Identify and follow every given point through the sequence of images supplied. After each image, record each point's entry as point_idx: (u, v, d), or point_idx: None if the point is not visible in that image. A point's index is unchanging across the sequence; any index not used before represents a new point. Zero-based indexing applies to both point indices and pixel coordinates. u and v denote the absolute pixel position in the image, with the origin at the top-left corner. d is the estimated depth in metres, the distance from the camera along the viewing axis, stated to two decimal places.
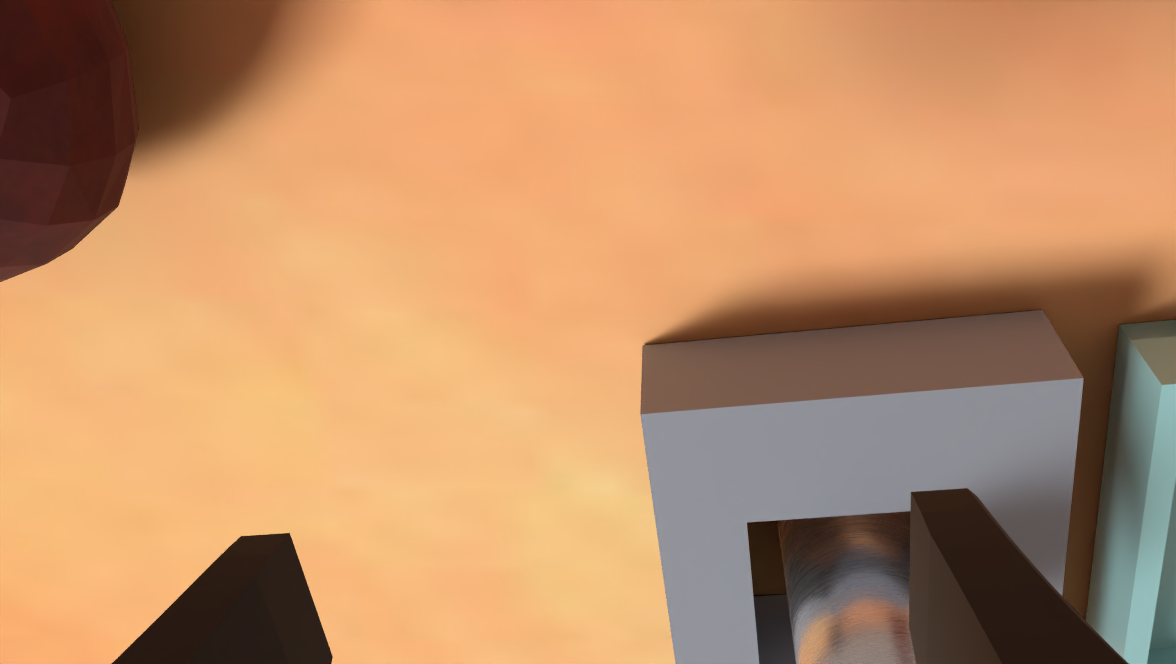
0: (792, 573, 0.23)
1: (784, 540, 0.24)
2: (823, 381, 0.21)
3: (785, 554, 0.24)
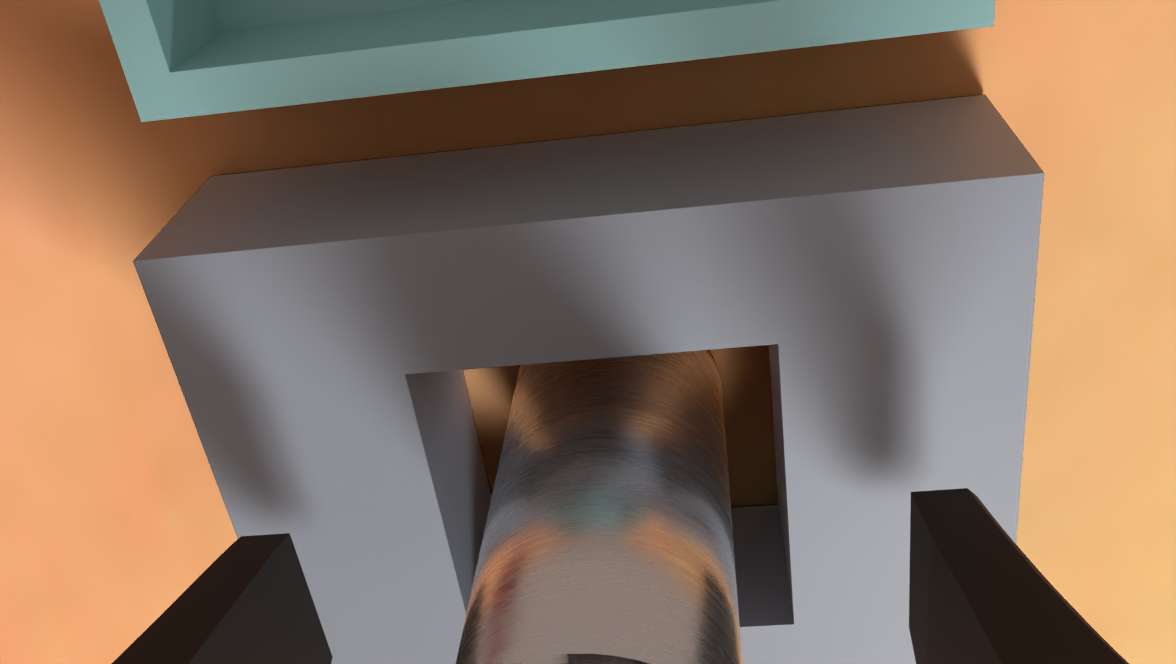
0: None
1: None
2: None
3: None
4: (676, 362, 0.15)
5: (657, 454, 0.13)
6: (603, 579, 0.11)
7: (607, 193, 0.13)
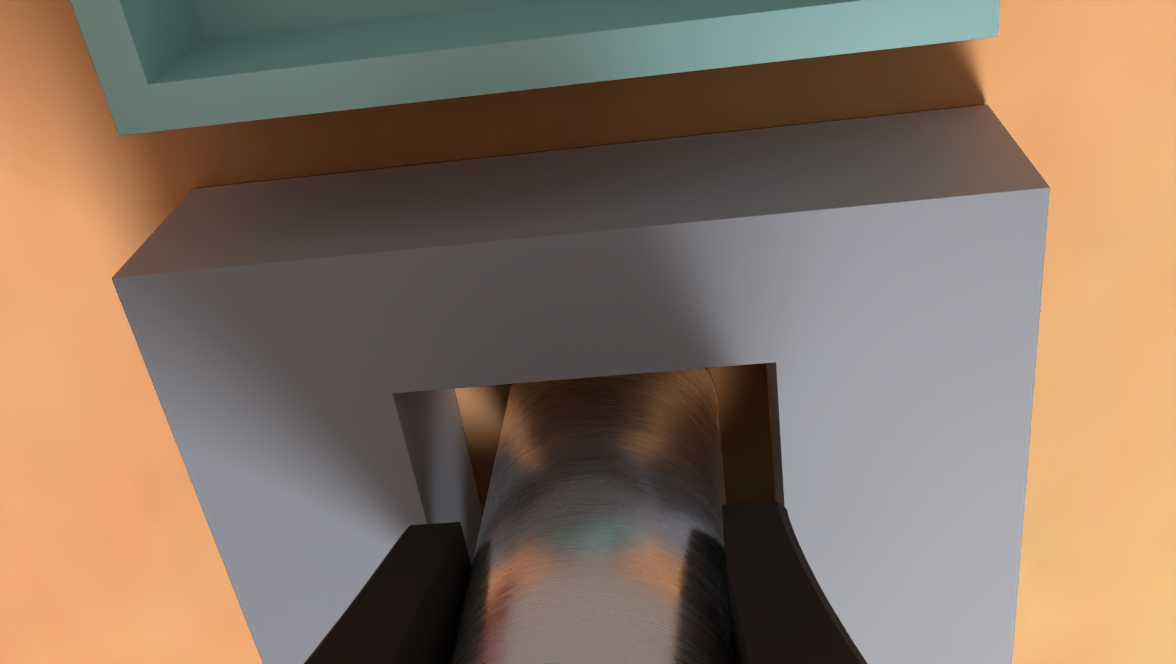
0: None
1: None
2: None
3: None
4: (671, 379, 0.14)
5: (652, 477, 0.12)
6: (595, 609, 0.10)
7: (600, 207, 0.12)
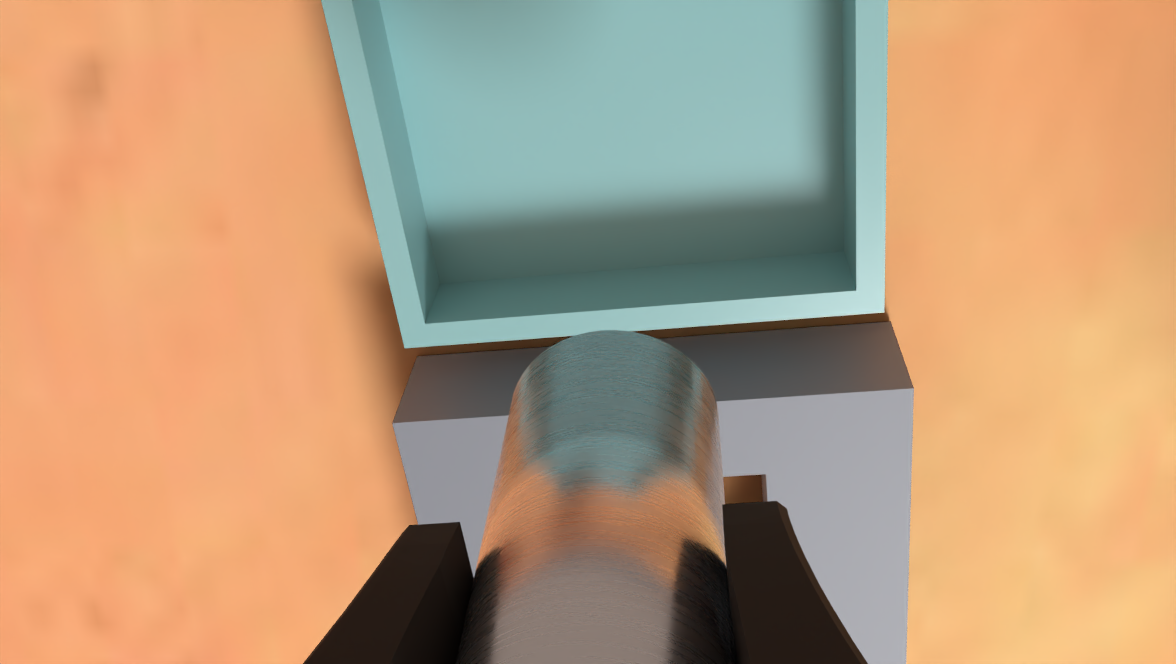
0: None
1: None
2: None
3: None
4: (672, 388, 0.14)
5: (653, 484, 0.13)
6: (598, 617, 0.11)
7: None
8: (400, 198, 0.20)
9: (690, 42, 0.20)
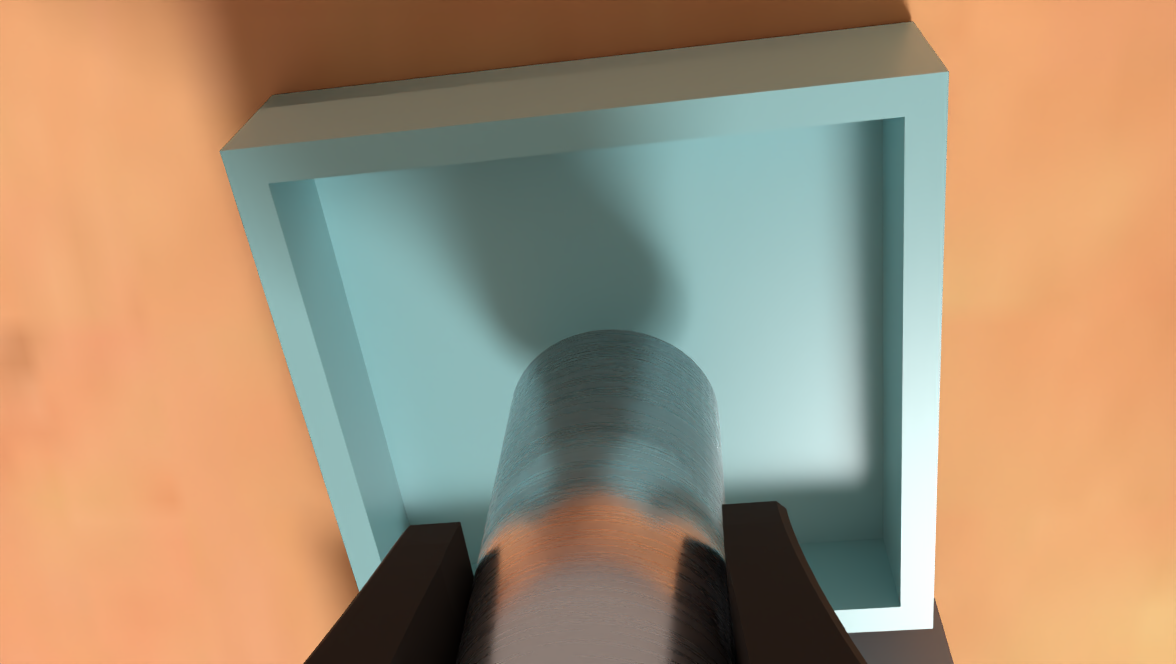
0: None
1: None
2: None
3: None
4: (673, 388, 0.14)
5: (654, 484, 0.12)
6: (598, 615, 0.11)
7: None
8: (370, 507, 0.17)
9: (704, 329, 0.17)
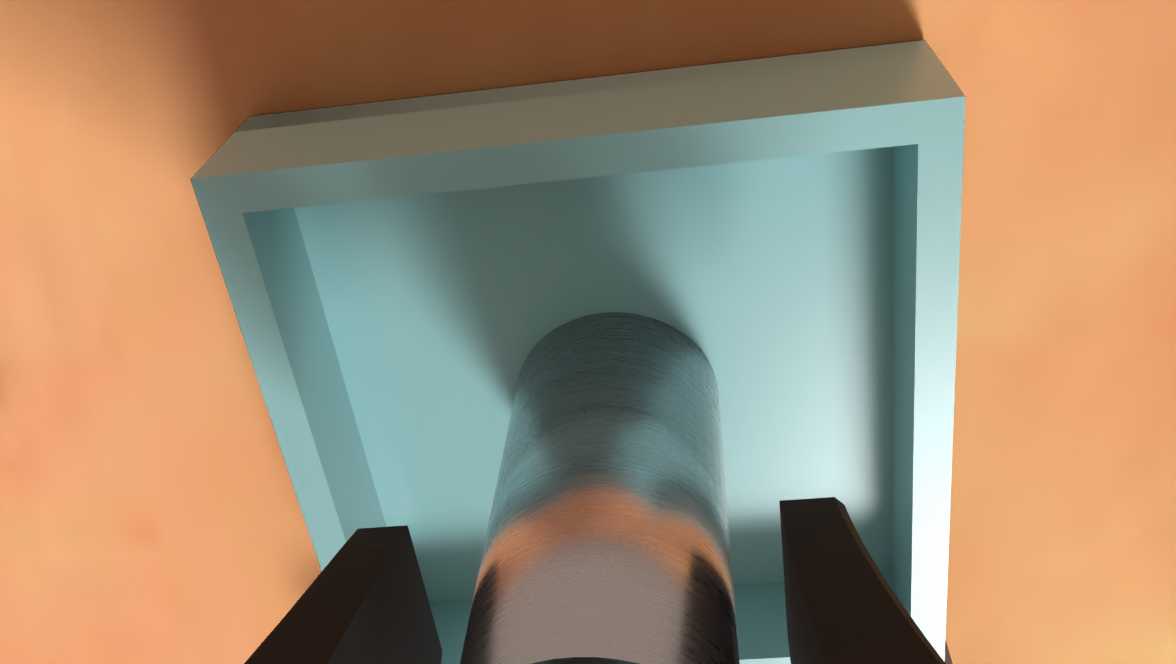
0: None
1: None
2: None
3: None
4: (674, 368, 0.15)
5: (657, 461, 0.13)
6: (605, 584, 0.11)
7: None
8: None
9: None
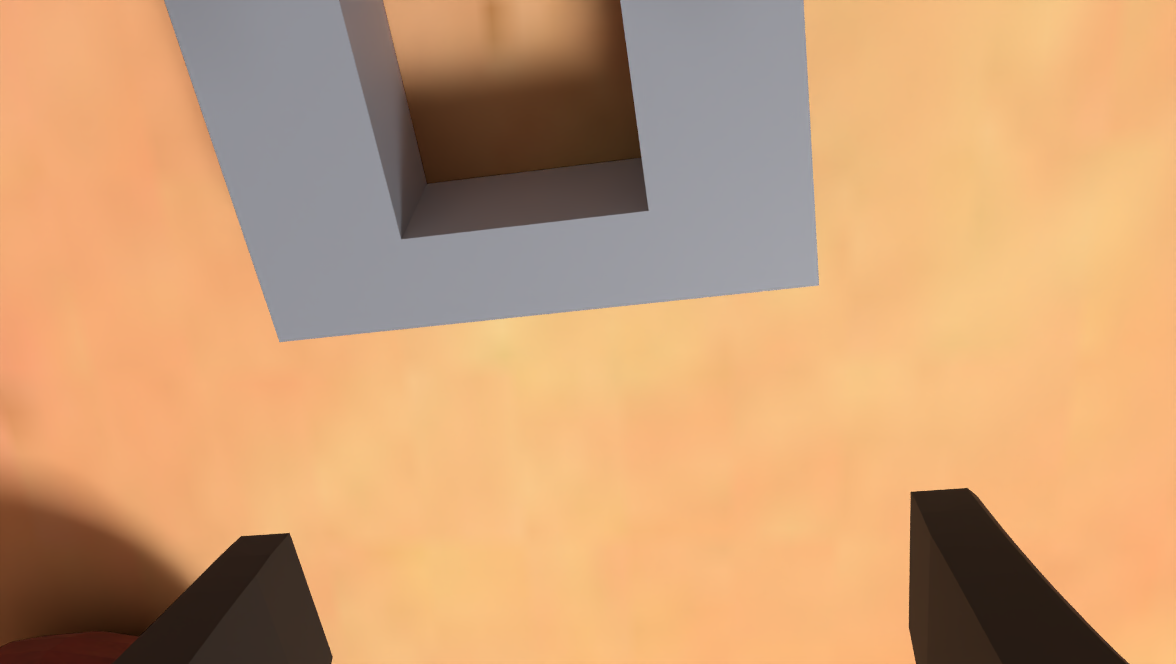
0: None
1: None
2: None
3: None
4: None
5: None
6: None
7: None
8: None
9: None
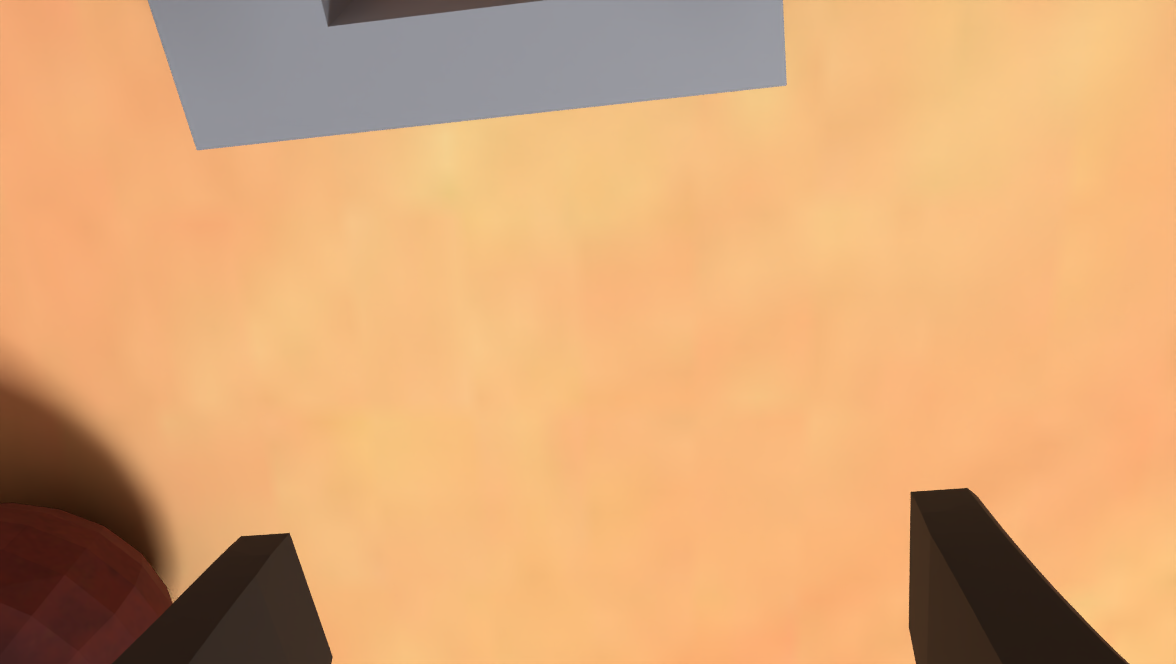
0: None
1: None
2: None
3: None
4: None
5: None
6: None
7: None
8: None
9: None
